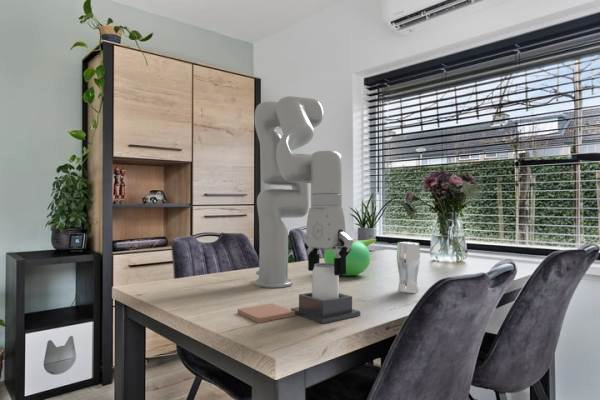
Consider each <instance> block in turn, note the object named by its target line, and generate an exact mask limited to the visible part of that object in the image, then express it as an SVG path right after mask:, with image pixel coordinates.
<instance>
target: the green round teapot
mask: <svg viewBox="0 0 600 400" xmlns="http://www.w3.org/2000/svg"><path fill="white" fill-rule="evenodd" d="M352 239H353V244H352V246H351V251H350V252H349V253H348V257H346V274H345V275H344V276H345V277H346V276H349V277H350V276H351V277H352V276H358V275H360V274H362V273H364V272H365V271H366V270H367V269H368V267H369V266H370V263H371V260H372V259H371V252H370V250H369V249H368V247H369V246H370V245H372V244H374V243H376V241H377V239H375V238H369V239H364V240H357V239H354V238H352ZM339 252H340V249H339ZM334 258H337V257H336V255H335V254H334V252H333V250H332V249H324V254H323V260H324V263H331V264H334Z"/></svg>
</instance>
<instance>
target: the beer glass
mask: <svg viewBox="0 0 600 400" xmlns="http://www.w3.org/2000/svg"><path fill="white" fill-rule="evenodd" d="M396 248H397V249H396V263H397V264H396V265H397V270H398V271H397V272H398V276H399V280H398V288H397V291H398V292H399V293H403V294H417V293H419V287H418V275H419V269H420V264H421V263H420V262H421V251H420V242H417V241H416V242H413V241H398V242H397V246H396Z"/></svg>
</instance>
